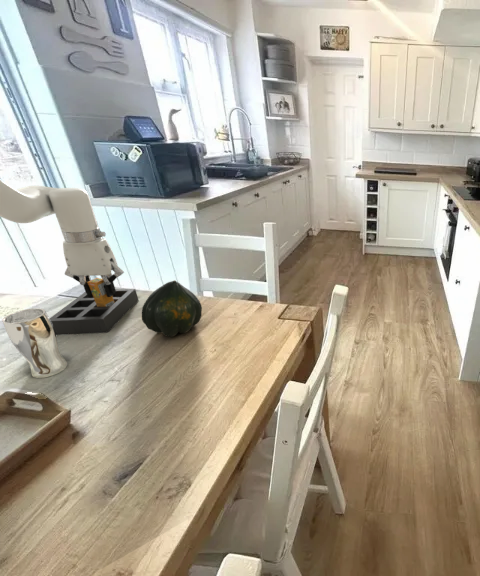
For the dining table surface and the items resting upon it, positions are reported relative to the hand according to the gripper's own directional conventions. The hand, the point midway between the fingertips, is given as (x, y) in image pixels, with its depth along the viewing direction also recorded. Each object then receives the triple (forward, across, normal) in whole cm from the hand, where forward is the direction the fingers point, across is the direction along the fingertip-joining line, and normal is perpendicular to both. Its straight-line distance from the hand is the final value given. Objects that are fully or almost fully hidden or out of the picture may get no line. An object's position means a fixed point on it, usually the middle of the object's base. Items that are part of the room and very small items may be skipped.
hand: (102, 294), depth 96 cm
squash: (+7, -22, +9) cm, 24 cm away
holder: (+7, +2, 0) cm, 8 cm away
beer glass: (+8, 0, +25) cm, 26 cm away
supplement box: (+5, 0, 0) cm, 5 cm away
